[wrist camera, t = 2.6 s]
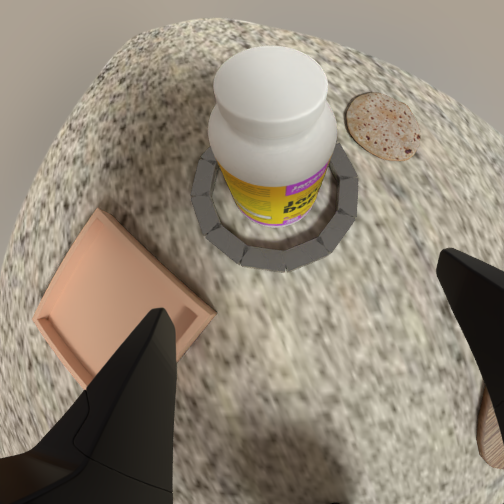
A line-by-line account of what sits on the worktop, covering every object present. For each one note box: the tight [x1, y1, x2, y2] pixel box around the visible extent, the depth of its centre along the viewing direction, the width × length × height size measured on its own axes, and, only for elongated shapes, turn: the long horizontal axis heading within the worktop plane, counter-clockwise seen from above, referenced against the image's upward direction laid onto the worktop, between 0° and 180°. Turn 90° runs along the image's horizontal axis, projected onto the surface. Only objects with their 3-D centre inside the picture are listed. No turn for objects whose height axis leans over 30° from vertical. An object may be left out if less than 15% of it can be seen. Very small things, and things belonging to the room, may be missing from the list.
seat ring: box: [191, 140, 358, 273], centre depth 22 cm, size 13×13×1 cm
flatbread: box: [346, 92, 420, 161], centre depth 22 cm, size 8×8×1 cm
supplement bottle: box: [208, 45, 337, 228], centre depth 16 cm, size 7×7×13 cm
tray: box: [32, 208, 217, 390], centre depth 21 cm, size 13×13×2 cm
